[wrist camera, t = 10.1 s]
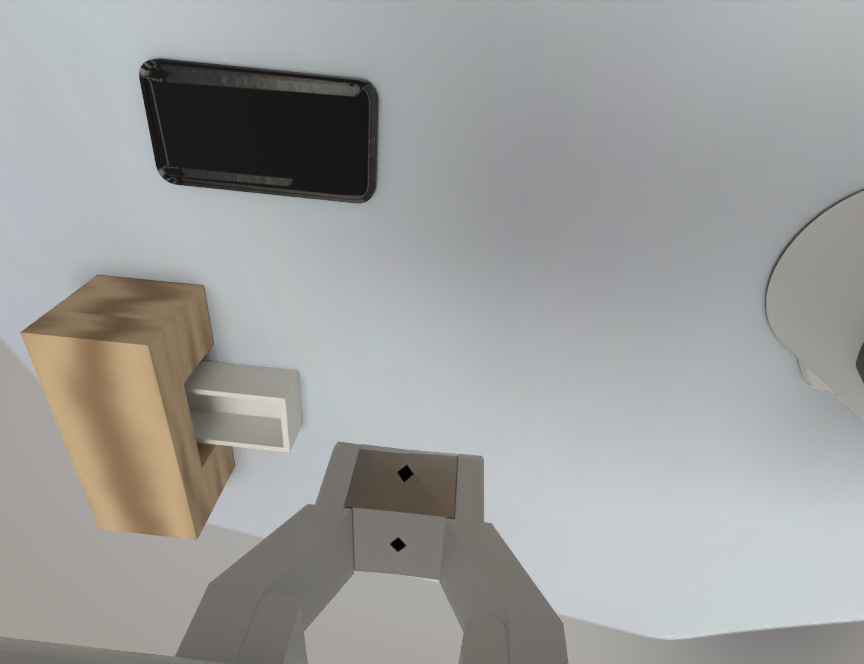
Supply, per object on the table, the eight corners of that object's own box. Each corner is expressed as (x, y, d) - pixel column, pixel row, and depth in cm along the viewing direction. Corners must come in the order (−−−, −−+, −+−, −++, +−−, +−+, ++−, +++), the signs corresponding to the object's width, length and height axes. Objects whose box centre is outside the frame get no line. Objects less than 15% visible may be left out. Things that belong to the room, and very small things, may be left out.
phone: (135, 58, 33) (376, 82, 33) (145, 56, 34) (379, 79, 34) (159, 184, 37) (373, 206, 37) (167, 179, 38) (376, 201, 38)
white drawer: (299, 369, 46) (284, 398, 43) (302, 421, 50) (289, 452, 46) (139, 352, 47) (113, 380, 43) (153, 405, 50) (129, 435, 47)
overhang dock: (203, 285, 42) (147, 345, 35) (235, 465, 53) (197, 539, 46) (97, 275, 42) (20, 332, 35) (150, 456, 53) (99, 529, 46)
